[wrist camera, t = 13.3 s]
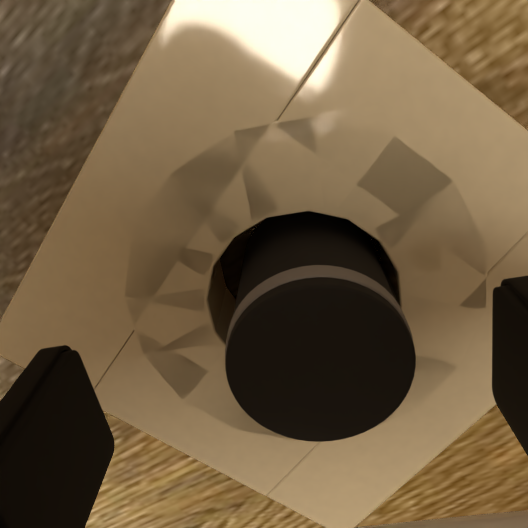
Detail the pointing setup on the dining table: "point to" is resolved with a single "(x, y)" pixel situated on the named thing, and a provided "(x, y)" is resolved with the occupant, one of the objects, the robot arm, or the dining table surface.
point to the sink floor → (276, 204)
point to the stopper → (316, 331)
